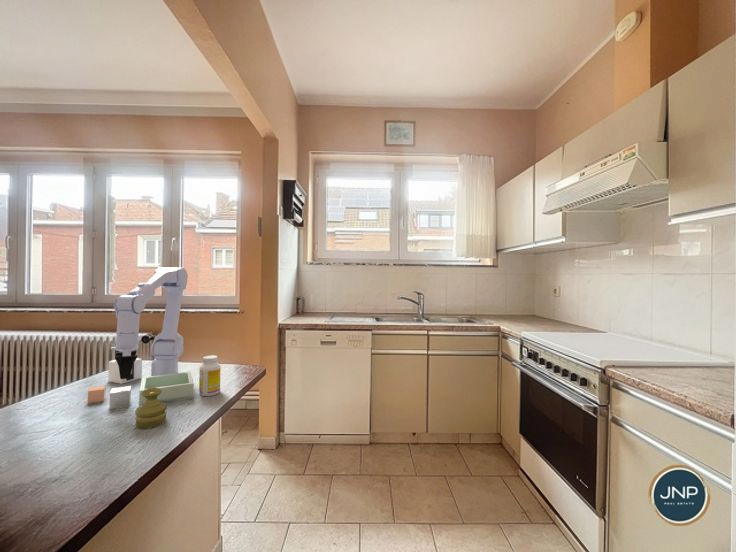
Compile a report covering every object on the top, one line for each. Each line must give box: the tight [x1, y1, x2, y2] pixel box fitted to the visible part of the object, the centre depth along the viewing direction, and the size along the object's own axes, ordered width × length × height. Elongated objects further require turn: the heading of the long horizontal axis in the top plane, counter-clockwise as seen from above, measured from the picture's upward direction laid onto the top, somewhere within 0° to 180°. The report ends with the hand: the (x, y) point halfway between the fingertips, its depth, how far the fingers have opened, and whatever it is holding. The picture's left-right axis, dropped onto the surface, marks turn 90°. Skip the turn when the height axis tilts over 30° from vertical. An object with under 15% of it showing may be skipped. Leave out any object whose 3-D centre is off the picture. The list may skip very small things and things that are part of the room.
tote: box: [138, 371, 195, 407], centre depth 113 cm, size 15×15×5 cm
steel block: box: [108, 385, 132, 410], centre depth 104 cm, size 5×5×5 cm
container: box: [107, 350, 143, 385], centre depth 127 cm, size 8×8×13 cm
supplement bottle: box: [198, 354, 221, 397], centre depth 115 cm, size 7×7×13 cm
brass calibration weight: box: [134, 387, 168, 430], centre depth 92 cm, size 7×7×10 cm
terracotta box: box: [87, 385, 107, 404], centre depth 107 cm, size 4×4×4 cm
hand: (124, 376), depth 104 cm, fingers open, 7 cm apart
